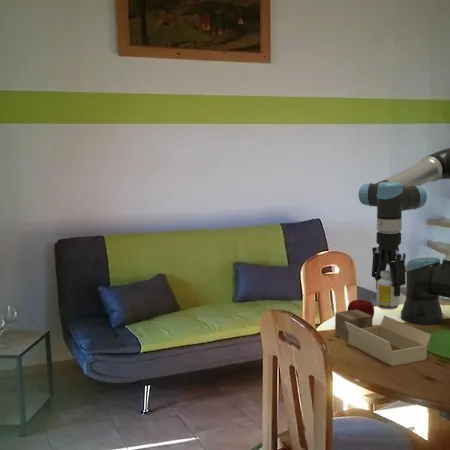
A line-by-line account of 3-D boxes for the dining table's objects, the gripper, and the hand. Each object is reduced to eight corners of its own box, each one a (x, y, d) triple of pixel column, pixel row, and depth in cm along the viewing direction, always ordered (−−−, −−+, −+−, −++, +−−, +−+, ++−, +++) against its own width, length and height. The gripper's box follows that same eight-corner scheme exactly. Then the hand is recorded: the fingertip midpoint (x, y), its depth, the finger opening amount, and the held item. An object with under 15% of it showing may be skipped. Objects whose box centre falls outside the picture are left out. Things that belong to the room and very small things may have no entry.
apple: (364, 321, 237) (365, 295, 235) (379, 328, 228) (380, 301, 227) (342, 324, 234) (342, 298, 232) (356, 332, 225) (356, 304, 223)
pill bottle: (398, 310, 199) (399, 274, 198) (377, 310, 201) (377, 274, 199) (397, 305, 206) (398, 269, 204) (376, 304, 207) (377, 269, 205)
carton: (384, 337, 219) (384, 315, 218) (430, 358, 198) (431, 334, 197) (344, 344, 212) (344, 321, 211) (387, 366, 191) (388, 341, 190)
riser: (356, 331, 225) (357, 309, 224) (372, 338, 217) (372, 316, 216) (335, 334, 222) (335, 312, 221) (350, 342, 214) (350, 319, 213)
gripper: (360, 228, 207) (359, 297, 210) (399, 237, 189) (397, 312, 193) (379, 226, 210) (378, 294, 213) (419, 235, 192) (417, 309, 196)
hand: (387, 302), depth 203 cm, fingers closed on pill bottle, 6 cm apart
